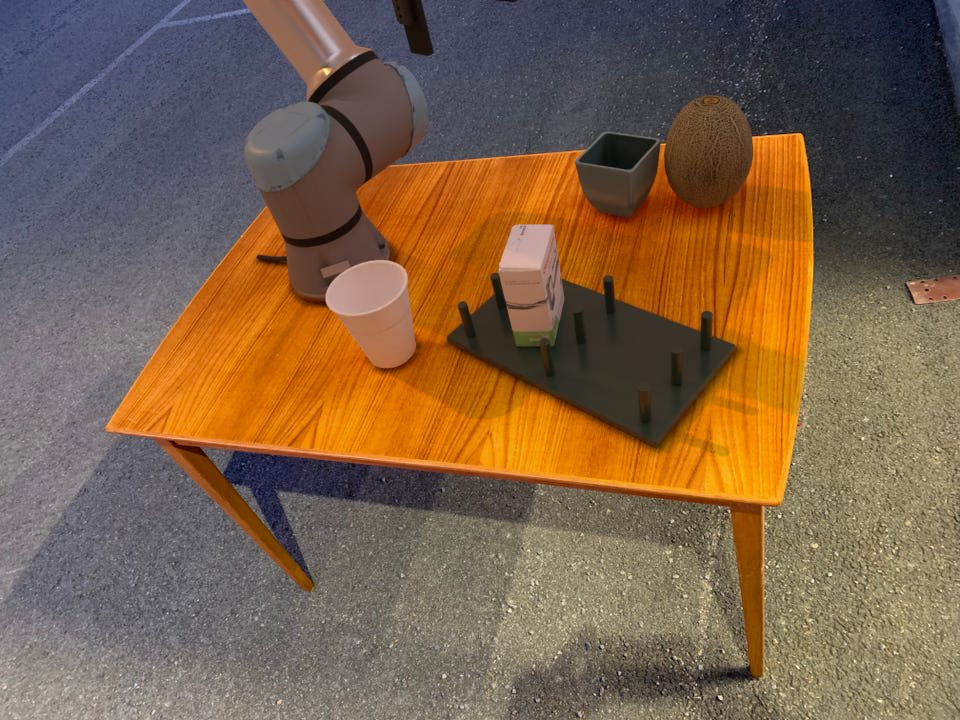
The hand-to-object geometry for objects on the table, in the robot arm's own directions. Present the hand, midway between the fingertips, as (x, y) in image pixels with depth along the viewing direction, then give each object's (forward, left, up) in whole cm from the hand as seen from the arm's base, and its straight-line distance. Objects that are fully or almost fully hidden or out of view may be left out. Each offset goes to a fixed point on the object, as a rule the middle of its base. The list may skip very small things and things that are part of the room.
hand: (466, 26), depth 74 cm
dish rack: (+18, -9, -32) cm, 38 cm away
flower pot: (+6, +17, -32) cm, 37 cm away
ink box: (+12, -9, -31) cm, 34 cm away
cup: (-2, -22, -32) cm, 39 cm away
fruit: (+16, +23, -32) cm, 42 cm away
